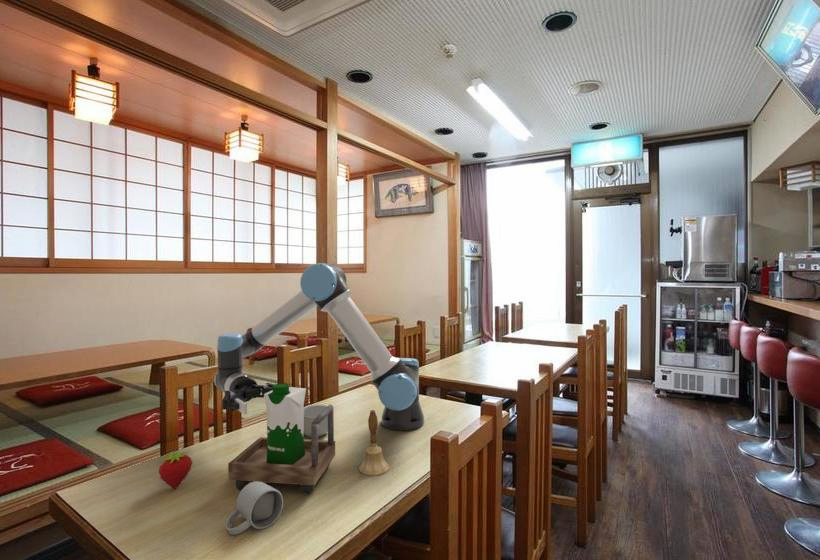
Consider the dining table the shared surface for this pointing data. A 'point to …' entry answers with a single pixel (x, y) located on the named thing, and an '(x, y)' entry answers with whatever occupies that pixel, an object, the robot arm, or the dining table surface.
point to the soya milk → (285, 424)
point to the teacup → (311, 414)
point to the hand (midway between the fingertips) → (270, 403)
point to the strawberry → (175, 469)
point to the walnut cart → (301, 472)
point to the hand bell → (373, 452)
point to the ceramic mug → (256, 507)
